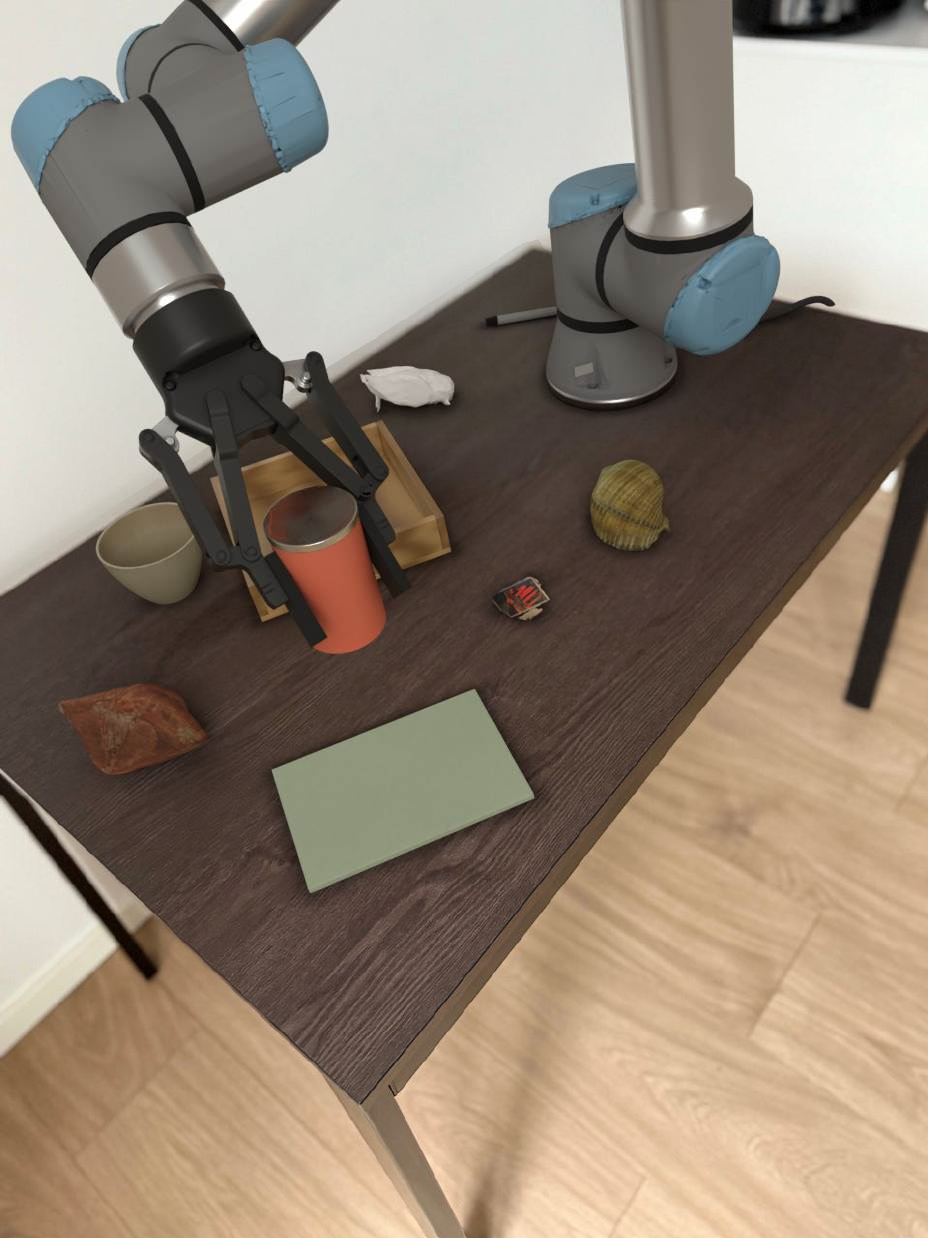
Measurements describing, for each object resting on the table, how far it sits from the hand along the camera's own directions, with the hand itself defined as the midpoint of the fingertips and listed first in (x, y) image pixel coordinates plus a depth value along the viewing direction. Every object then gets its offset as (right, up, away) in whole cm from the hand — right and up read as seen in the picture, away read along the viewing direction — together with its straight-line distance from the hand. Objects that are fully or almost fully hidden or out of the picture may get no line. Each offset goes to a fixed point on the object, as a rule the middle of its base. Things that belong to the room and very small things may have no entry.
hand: (361, 616), depth 64 cm
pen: (+18, +39, +62) cm, 75 cm away
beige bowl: (-23, +3, +33) cm, 40 cm away
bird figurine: (+1, +26, +51) cm, 57 cm away
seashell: (+23, +9, +30) cm, 39 cm away
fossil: (-20, -11, +18) cm, 29 cm away
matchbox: (+12, +1, +24) cm, 27 cm away
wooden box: (-7, +9, +36) cm, 38 cm away
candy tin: (-2, 0, +5) cm, 5 cm away
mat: (+2, -13, +11) cm, 18 cm away
